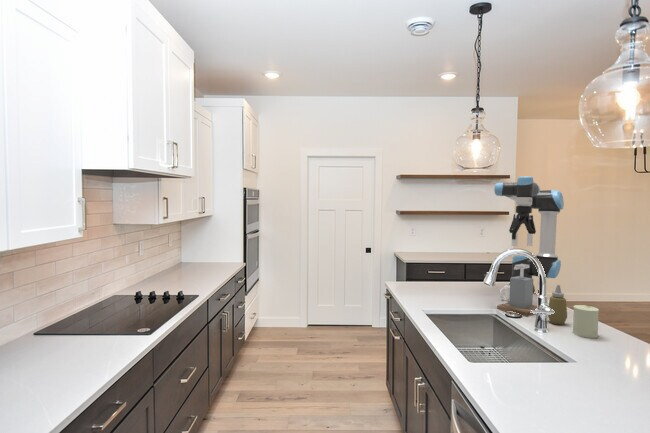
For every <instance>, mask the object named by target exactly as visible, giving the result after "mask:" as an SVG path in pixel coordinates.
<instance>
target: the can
mask: <svg viewBox="0 0 650 433" xmlns="http://www.w3.org/2000/svg"><path fill="white" fill-rule="evenodd" d="M599 312H600V309H599V308H597V307H594V306H590V305H583V304H575V305H573V318H572V319H573V322H572V334H574V335H576V336H578V337H582V338H583V337H584V338H589V339H595V338H598V337H599V315H600V314H599Z"/></svg>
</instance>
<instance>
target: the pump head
mask: <svg viewBox="0 0 650 433" xmlns="http://www.w3.org/2000/svg"><path fill="white" fill-rule="evenodd" d="M526 268H529V265H527V264H518V265H515V267H514V269H515V270H517V269H520V278H522V279H523V278H524V269H526Z"/></svg>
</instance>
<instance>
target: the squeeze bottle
mask: <svg viewBox="0 0 650 433" xmlns="http://www.w3.org/2000/svg"><path fill="white" fill-rule="evenodd" d="M548 307H550V308H551V309H553V310H554V311H555V313H554V314H551V315H547V317H548V320H549V323H551V324H553V325H558V326H559V325H560V326H561V325H565V323H566V320H567V319H568V308H567V298H565V293H564V292H562V290H561V285H560V284H556V286H555V291H552V294H551V296H550V297H549V302H548Z"/></svg>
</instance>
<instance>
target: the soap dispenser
mask: <svg viewBox="0 0 650 433" xmlns="http://www.w3.org/2000/svg"><path fill="white" fill-rule="evenodd" d="M509 284H510V301H509V306H513V307H517V308H521V309H527V308H531V307H532V305H534V304H533V302H534V300H533V298H534V297H533V295H534V293H533V284H534V278H533V277H532V278H527V277H524V278H523V279H522V278H520V276H516V277H512V276H511V277H510V279H509Z"/></svg>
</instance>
